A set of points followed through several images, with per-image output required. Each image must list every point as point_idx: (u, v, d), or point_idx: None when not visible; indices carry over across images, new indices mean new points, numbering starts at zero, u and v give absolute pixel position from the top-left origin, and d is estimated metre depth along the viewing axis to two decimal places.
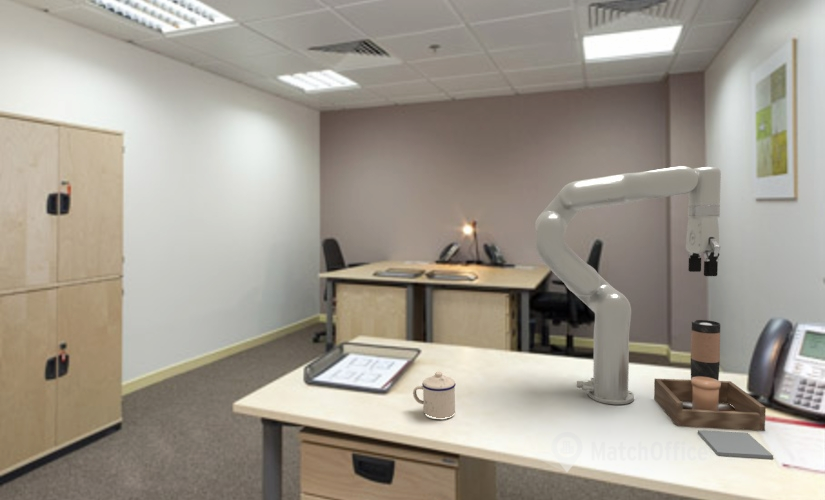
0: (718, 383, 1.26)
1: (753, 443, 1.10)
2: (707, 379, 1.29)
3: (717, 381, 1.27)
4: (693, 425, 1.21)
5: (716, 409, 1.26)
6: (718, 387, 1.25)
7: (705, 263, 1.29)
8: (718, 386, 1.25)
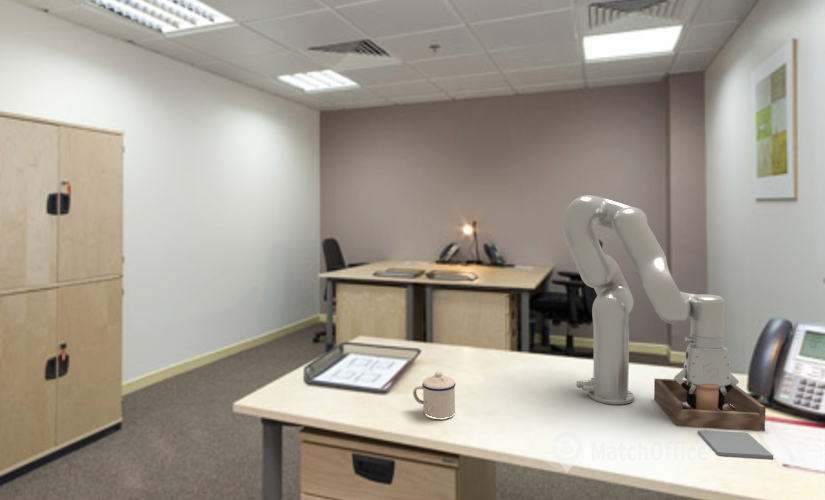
0: None
1: (753, 443, 1.10)
2: None
3: None
4: (693, 425, 1.21)
5: (716, 409, 1.26)
6: (718, 387, 1.25)
7: (722, 397, 1.26)
8: (718, 386, 1.25)
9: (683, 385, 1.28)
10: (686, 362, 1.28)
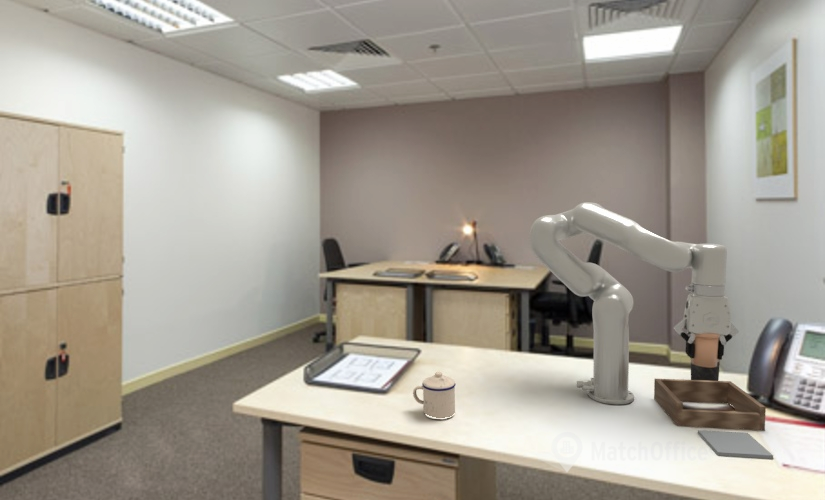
0: None
1: (753, 443, 1.10)
2: None
3: None
4: (693, 425, 1.21)
5: (715, 358, 1.25)
6: (718, 336, 1.24)
7: None
8: (718, 335, 1.24)
9: (682, 334, 1.27)
10: (686, 311, 1.27)
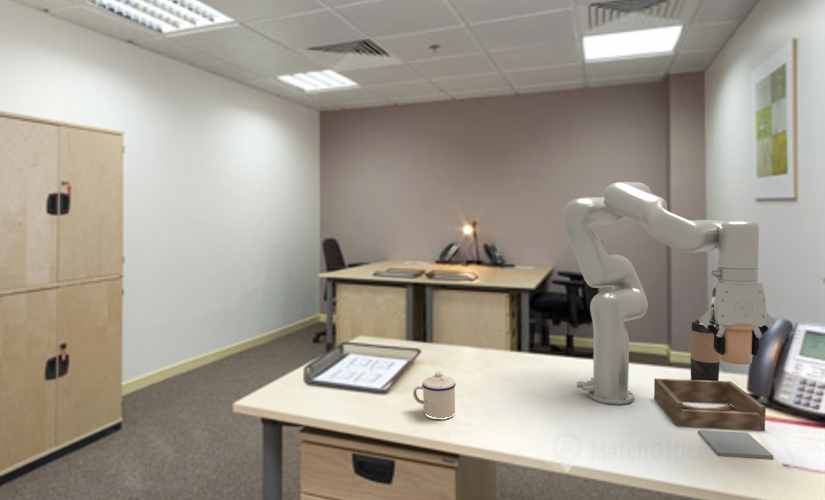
0: None
1: (753, 443, 1.10)
2: None
3: None
4: (693, 425, 1.21)
5: (749, 354, 1.07)
6: (752, 327, 1.06)
7: (756, 340, 1.08)
8: (752, 326, 1.06)
9: (710, 327, 1.09)
10: (713, 300, 1.09)
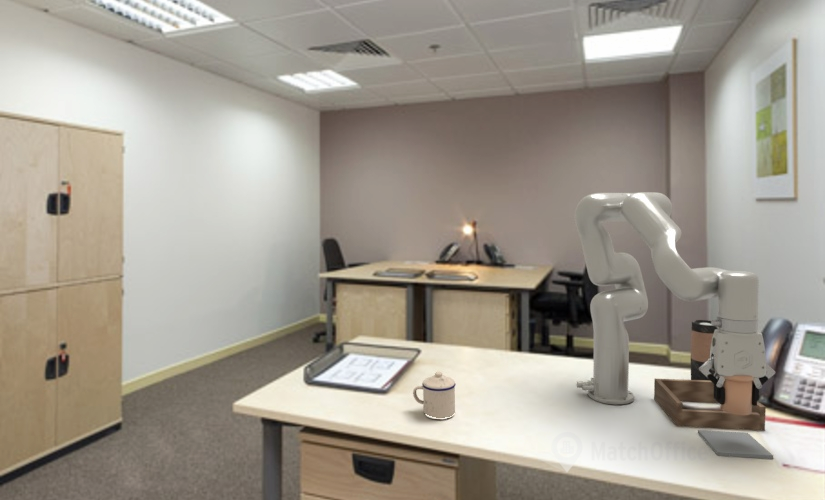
0: None
1: (753, 443, 1.10)
2: None
3: None
4: (693, 425, 1.21)
5: (749, 404, 1.07)
6: (752, 379, 1.06)
7: (756, 391, 1.08)
8: (752, 377, 1.06)
9: (710, 377, 1.10)
10: (713, 350, 1.10)
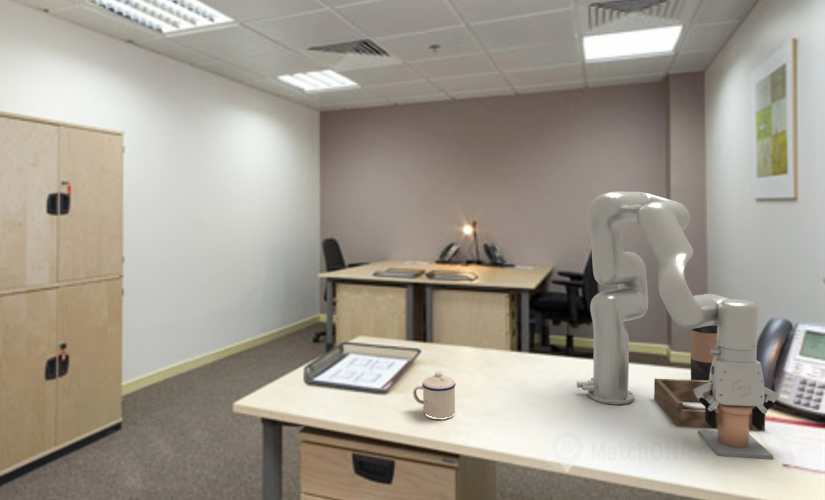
0: (749, 407, 1.08)
1: (753, 443, 1.10)
2: None
3: None
4: (693, 425, 1.21)
5: (746, 437, 1.08)
6: (749, 412, 1.07)
7: None
8: (749, 411, 1.07)
9: (701, 400, 1.11)
10: (712, 378, 1.10)
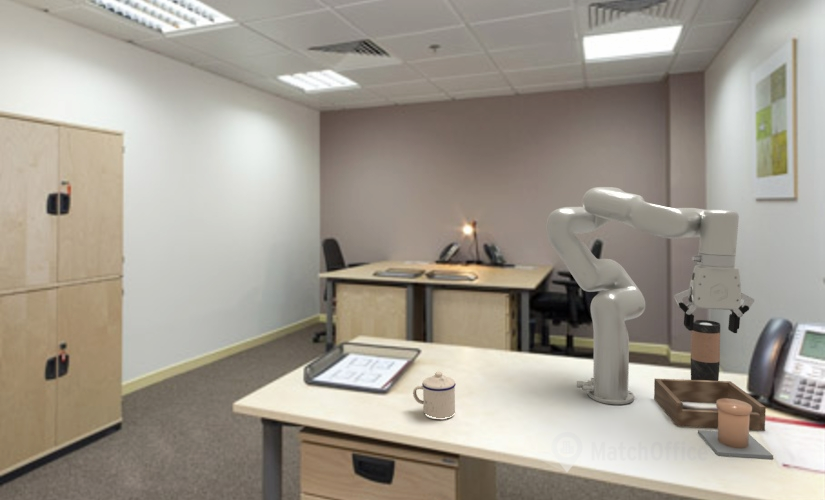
0: (749, 407, 1.08)
1: (753, 443, 1.10)
2: (735, 402, 1.11)
3: (747, 405, 1.10)
4: (693, 425, 1.21)
5: (746, 437, 1.08)
6: (749, 412, 1.07)
7: (737, 319, 1.14)
8: (749, 411, 1.07)
9: (681, 305, 1.17)
10: (692, 284, 1.16)
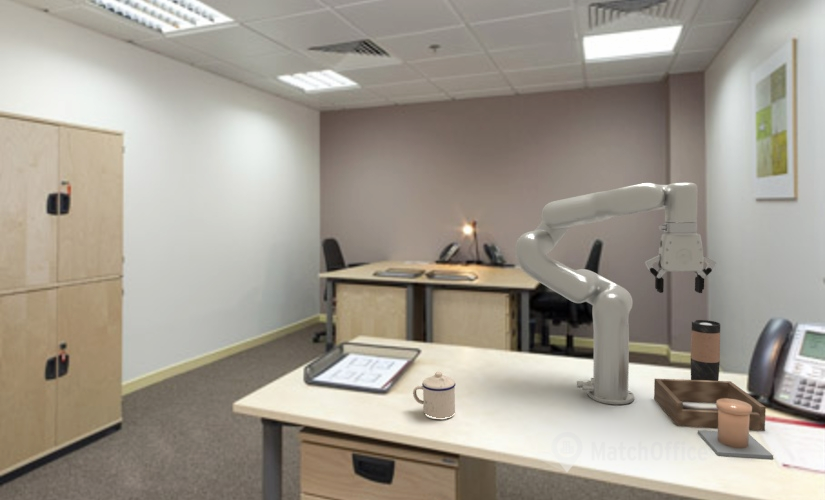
0: (749, 407, 1.08)
1: (753, 443, 1.10)
2: (735, 402, 1.11)
3: (747, 405, 1.10)
4: (693, 425, 1.21)
5: (746, 437, 1.08)
6: (749, 412, 1.07)
7: None
8: (749, 411, 1.07)
9: (651, 270, 1.30)
10: (660, 250, 1.30)
